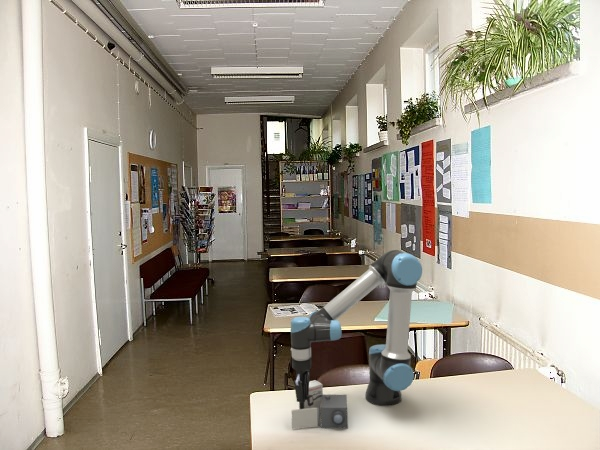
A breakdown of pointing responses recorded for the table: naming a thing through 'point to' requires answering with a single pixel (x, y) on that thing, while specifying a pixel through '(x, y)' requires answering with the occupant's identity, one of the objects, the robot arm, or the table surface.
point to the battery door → (305, 418)
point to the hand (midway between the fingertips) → (303, 416)
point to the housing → (334, 411)
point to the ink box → (314, 394)
